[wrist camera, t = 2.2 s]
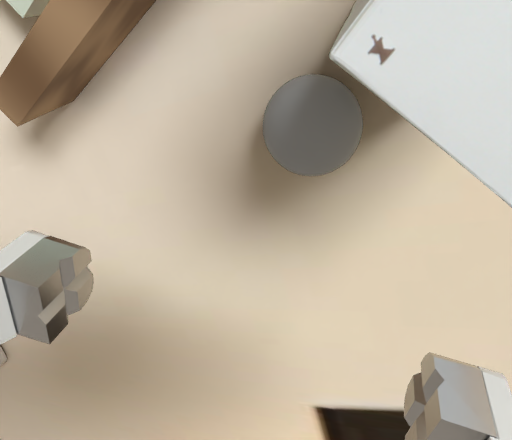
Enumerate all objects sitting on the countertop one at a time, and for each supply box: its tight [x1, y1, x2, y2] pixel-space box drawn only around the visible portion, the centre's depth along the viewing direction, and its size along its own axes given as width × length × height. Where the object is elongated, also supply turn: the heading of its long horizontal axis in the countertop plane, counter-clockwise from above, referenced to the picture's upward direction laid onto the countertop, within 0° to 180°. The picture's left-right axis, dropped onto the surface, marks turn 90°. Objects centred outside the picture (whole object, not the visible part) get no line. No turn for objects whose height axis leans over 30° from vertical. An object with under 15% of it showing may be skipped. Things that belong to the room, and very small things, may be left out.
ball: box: [263, 74, 363, 176], centre depth 21 cm, size 5×5×5 cm
